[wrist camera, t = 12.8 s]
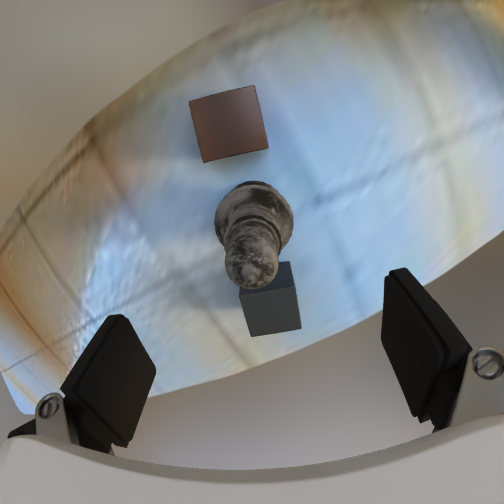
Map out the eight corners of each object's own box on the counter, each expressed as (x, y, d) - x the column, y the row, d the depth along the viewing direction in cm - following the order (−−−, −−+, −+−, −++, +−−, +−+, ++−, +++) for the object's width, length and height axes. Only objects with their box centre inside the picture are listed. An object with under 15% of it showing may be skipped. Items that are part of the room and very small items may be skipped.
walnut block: (255, 95, 20) (254, 84, 15) (267, 146, 21) (268, 148, 17) (201, 107, 20) (188, 101, 16) (213, 158, 22) (203, 163, 18)
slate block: (289, 260, 25) (294, 285, 21) (296, 300, 27) (301, 328, 23) (241, 269, 26) (238, 295, 22) (252, 308, 28) (250, 337, 23)
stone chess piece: (230, 249, 25) (210, 338, 14) (212, 187, 23) (169, 238, 12) (294, 234, 24) (321, 318, 13) (280, 170, 22) (302, 205, 11)
